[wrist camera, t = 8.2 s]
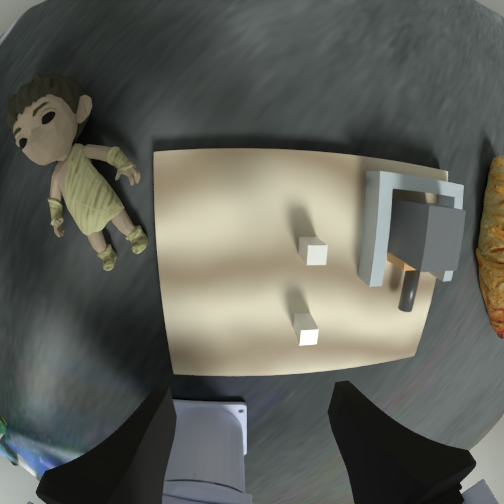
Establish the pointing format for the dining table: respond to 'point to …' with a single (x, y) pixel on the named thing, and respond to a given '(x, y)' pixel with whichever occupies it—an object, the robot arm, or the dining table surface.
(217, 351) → the board
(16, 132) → the figurine
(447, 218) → the block
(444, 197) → the end holder
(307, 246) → the twin white cubes
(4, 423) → the beverage can
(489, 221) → the croissant
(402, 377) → the dining table surface
